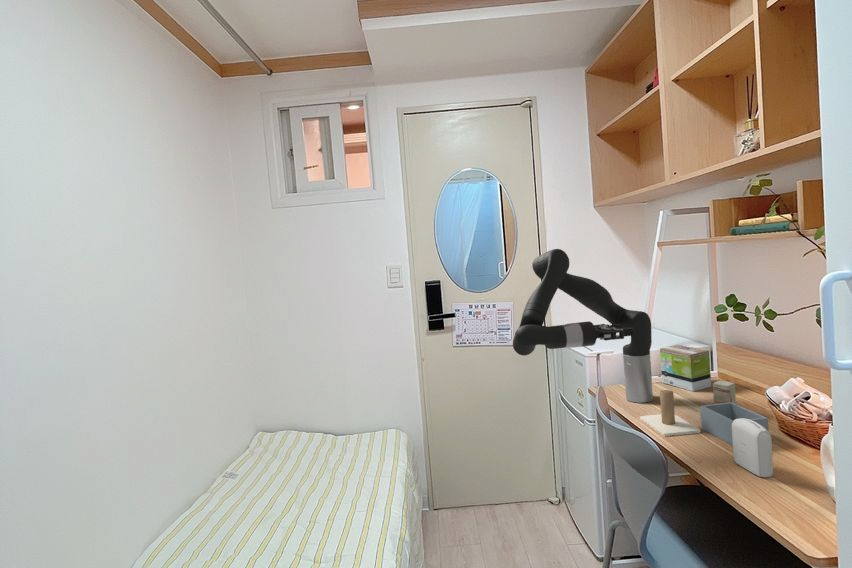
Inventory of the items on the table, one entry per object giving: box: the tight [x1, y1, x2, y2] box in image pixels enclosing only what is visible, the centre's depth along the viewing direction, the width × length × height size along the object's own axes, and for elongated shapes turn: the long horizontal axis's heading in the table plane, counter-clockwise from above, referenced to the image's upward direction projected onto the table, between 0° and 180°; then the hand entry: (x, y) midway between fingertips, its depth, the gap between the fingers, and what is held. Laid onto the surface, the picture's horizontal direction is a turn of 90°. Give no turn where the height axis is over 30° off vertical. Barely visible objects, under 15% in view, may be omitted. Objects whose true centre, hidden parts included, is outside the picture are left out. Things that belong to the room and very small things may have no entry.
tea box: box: [659, 344, 712, 392], centre depth 195 cm, size 15×10×15 cm, turn 21°
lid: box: [639, 389, 701, 437], centre depth 156 cm, size 16×11×11 cm
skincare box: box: [712, 379, 737, 404], centre depth 163 cm, size 5×4×10 cm
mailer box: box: [699, 402, 770, 447], centre depth 145 cm, size 15×10×7 cm, turn 3°
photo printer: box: [732, 418, 774, 478], centre depth 124 cm, size 10×4×12 cm, turn 3°
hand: (628, 329), depth 154 cm, fingers open, 8 cm apart
